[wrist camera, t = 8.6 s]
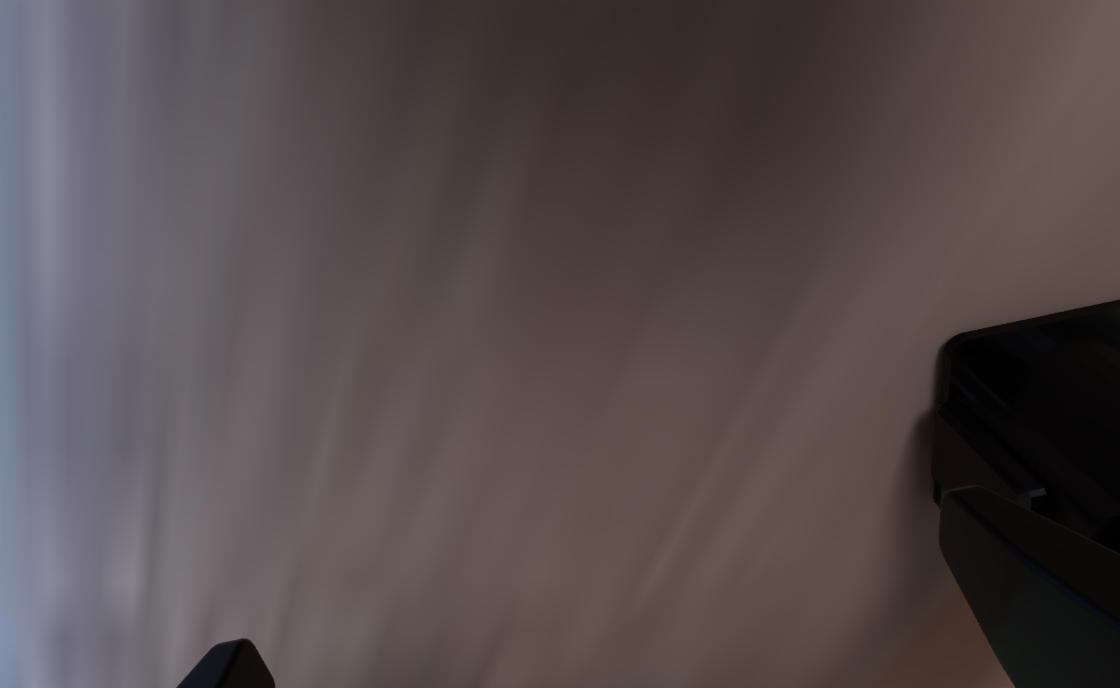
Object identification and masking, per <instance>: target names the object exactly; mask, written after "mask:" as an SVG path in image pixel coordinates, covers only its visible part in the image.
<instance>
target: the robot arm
mask: <svg viewBox="0 0 1120 688" xmlns="http://www.w3.org/2000/svg"><path fill="white" fill-rule="evenodd" d="M968 347H969V350H968V351H967V352H966V353H965V354H963V355H961V352H962V351H963V350H964V349H966V348H968ZM960 355H961V356H960ZM931 473H932V476H933V477H934V479H935V480H934V494H933V499H934V502H935V503H936V505H937V506H938V507H939V508H940V510H941V512H940V525H939V545H940V549H941V552H942V554H943V557H944V559H945V561H946V562H947V564H948V566H949V568H950V570H951V572H952V574H953V576H954V578H955V579H956V581H957V583H958V585H959V587H960V589H961V591H962V593H963V595H964V597H965V598H966V600H967V602H968V604H969V606H970V608H971V610H972V612H973V614H974V615H975V617H976V619H977V621H978V623H979V625H980V627H981V629H982V631H983V632H984V634H985V636H986V638H987V640H988V642H989V644H990V646H991V648H992V649H993V651H994V653H995V655H996V657H997V658H998V660H999V662H1000V664H1001V665H1002V667H1003V669H1004V670H1005V672H1006V673H1007V675H1008V677H1009V678H1010V680H1011V681H1012V683H1013V685H1014V686H1015V688H1120V300H1116V301H1111V302H1107V303H1102V304H1097V305H1092V306H1088V307H1083V308H1078V309H1073V310H1069V311H1064V312H1059V313H1054V314H1050V315H1045V316H1040V317H1035V318H1031V319H1026V320H1021V321H1016V322H1012V323H1007V324H1002V325H997V326H993V327H988V328H983V329H978V330H974V331H969V332H964V333H961V334H958V335H955V336H954V337H953V338H952V339H950V340H949V342H948V343H947V344H946V346H945V349H944V356H943V370H942V384H941V397H940V405H939V407H938V409H937V411H936V414H935V428H934V443H933V457H932V471H931ZM176 688H275V683H274V679H273V677H272V675H271V673H270V671H269V670H268V668H267V666H266V665H265V663H264V661H263V659H262V658H261V656H260V654H259V652H258V651H257V649H256V647H255V645H254V644H253V643H252V642H251V641H250V640H248V639H238V640H233V641H228V642H224V643H219V644H217V645H215V646H214V647H212V648H211V649H210V650H209V651H208V652H207V654H206V655H205V656H204V657H203V658H202V659H201V660H200V661H199V663H198V664H197V665H196V666H195V667H194V668H193V669H192V670H191V672H190V673H189V674H188V675H187V676H186V677H185V678H184V680H183V681H182V682H181V683H180V684H179V685H178V686H177V687H176Z"/></svg>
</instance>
